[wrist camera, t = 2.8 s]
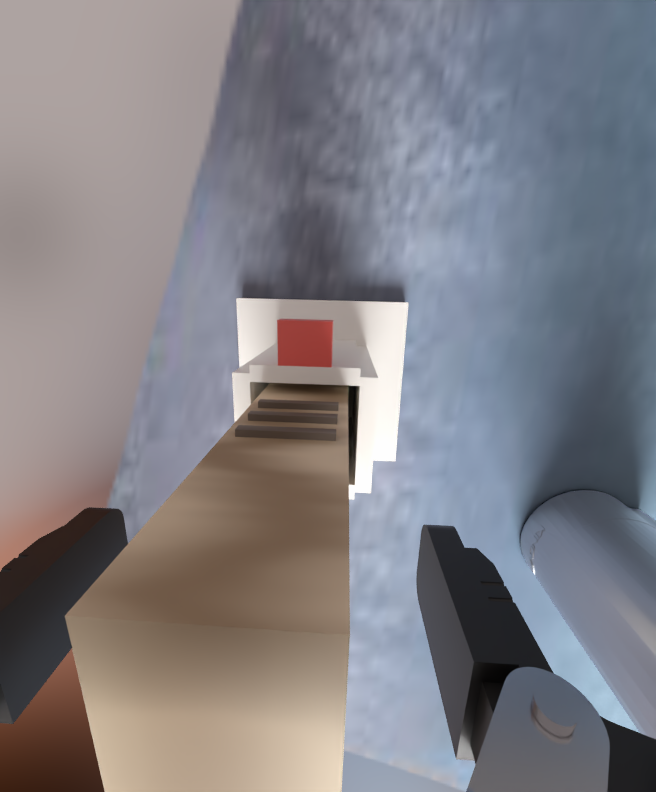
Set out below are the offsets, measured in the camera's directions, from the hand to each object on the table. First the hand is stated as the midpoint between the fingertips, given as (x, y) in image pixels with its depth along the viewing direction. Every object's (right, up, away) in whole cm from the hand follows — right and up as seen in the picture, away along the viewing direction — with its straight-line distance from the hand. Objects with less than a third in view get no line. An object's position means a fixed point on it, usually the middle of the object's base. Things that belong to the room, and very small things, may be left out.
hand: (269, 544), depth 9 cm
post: (+1, +5, +17) cm, 17 cm away
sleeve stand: (+1, +5, +18) cm, 19 cm away
